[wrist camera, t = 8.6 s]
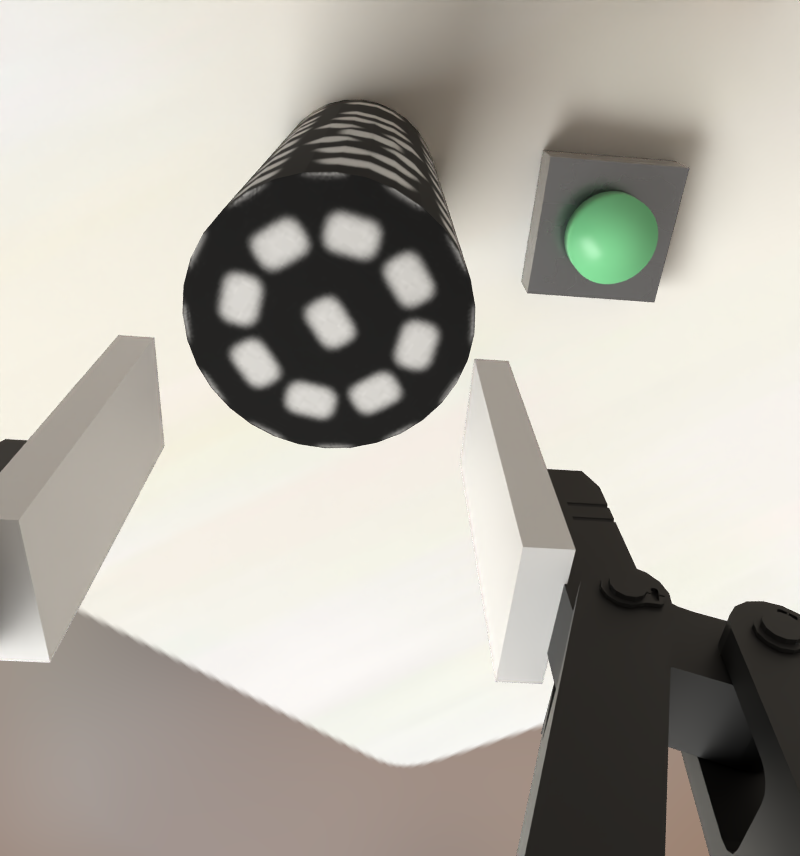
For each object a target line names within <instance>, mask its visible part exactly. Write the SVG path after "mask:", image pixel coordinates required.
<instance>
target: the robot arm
mask: <svg viewBox="0 0 800 856" xmlns="http://www.w3.org/2000/svg"><path fill="white" fill-rule="evenodd" d="M163 448H164V436H163V426H162V415H161V404H160V394H159V383H158V372H157V362H156V351H155V341H154V338H152V337H137V336H122V335H118V337H117V338H116V339H115V340H114V341H113V342H112V343H111V345H110V346H109V347H108V348H107V349H106V350H105V352H104V353H103V354H102V355H101V356H100V357H99V359H98V360H97V361H96V362H95V363H94V364H93V365H92V367H91V368H90V369H89V370H88V371H87V372H86V374H85V375H84V376H83V377H82V378H81V379H80V381H79V382H78V383H77V384H76V385H75V386H74V388H73V389H72V390H71V391H70V392H69V393H68V394H67V396H66V397H65V398H64V399H63V400H62V401H61V403H60V404H59V405H58V406H57V407H56V408H55V410H54V411H53V412H52V413H51V414H50V415H49V416H48V418H47V419H46V420H45V421H44V422H43V423H42V425H41V426H40V427H39V428H38V429H37V430H36V432H35V433H34V434H33V435H32V436H31V437H30V438H29V440H28V441H27V440H10V439H5V440H3V441H1V442H0V660H4V661H28V662H51V660H52V658H53V656H54V654H55V652H56V650H57V648H58V647H59V644H60V643H61V641H62V639H63V637H64V635H65V633H66V631H67V630H68V627H69V626H70V623H71V622H72V620H73V618H74V616H75V614H76V612H77V611H78V609H79V607H80V605H81V603H82V601H83V599H84V597H85V595H86V594H87V592H88V590H89V588H90V586H91V584H92V582H93V580H94V578H95V577H96V575H97V573H98V571H99V569H100V567H101V565H102V563H103V561H104V559H105V558H106V556H107V554H108V552H109V550H110V548H111V546H112V544H113V542H114V541H115V539H116V537H117V535H118V533H119V531H120V529H121V527H122V525H123V524H124V522H125V520H126V518H127V516H128V514H129V512H130V510H131V508H132V507H133V505H134V503H135V501H136V499H137V497H138V495H139V493H140V491H141V489H142V488H143V486H144V484H145V482H146V480H147V478H148V476H149V474H150V472H151V471H152V469H153V467H154V465H155V463H156V461H157V459H158V457H159V455H160V454H161V452H162V450H163ZM460 467H461V473H462V479H463V485H464V492H465V498H466V504H467V510H468V516H469V522H470V528H471V535H472V541H473V547H474V553H475V559H476V565H477V571H478V577H479V584H480V590H481V596H482V602H483V608H484V614H485V620H486V626H487V633H488V639H489V645H490V651H491V657H492V663H493V669H494V675H495V682H510V683H533V684H542V683H543V679H544V675H545V671H546V667H547V663H548V659H549V663H550V667H551V671H552V675H553V679H554V686H553V689H552V693H551V697H550V701H549V705H548V709H547V712H546V716H545V720H544V724H543V728H542V732H541V734H542V738H541V743H540V747H539V752H538V757H537V761H536V766H535V771H534V775H533V780H532V785H531V789H530V794H529V799H528V804H527V808H526V813H525V817H524V823H523V827H522V831H521V836H520V841H519V846H518V850H517V855H516V856H665V833H666V802H667V801H666V800H667V769H668V747H671V748H673V749H677V750H679V751H681V753H682V756H683V760H684V763H685V767H686V771H687V775H688V778H689V782H690V785H691V789H692V793H693V796H694V800H695V804H696V807H697V811H698V814H699V818H700V822H701V826H702V829H703V833H704V837H705V840H706V844H707V847H708V851H709V855H710V856H800V614H798V613H796V612H794V611H792V610H789V609H787V608H785V607H783V606H780V605H776V604H772V603H768V602H764V601H751V602H745V603H742V604H740V605H737V606H735V607H734V609H733V611H732V612H731V614H730V615H729V618H728V620H727V621H724V620H721V619H717V618H713V617H710V616H706V615H703V614H699V613H695V612H692V611H689V610H686V609H683V608H680V607H678V606H676V605H674V604H672V602H671V599H670V595H669V593H668V592H667V590H666V589H665V588H664V587H663V585H662V584H661V583H660V582H659V581H657V580H656V579H655V578H653V577H652V576H650V575H649V574H647V573H646V572H643V571H641V570H638V569H636V566H635V564H634V562H633V560H632V558H631V555H630V553H629V551H628V549H627V547H626V544H625V542H624V540H623V538H622V536H621V533H620V531H619V529H618V527H617V525H616V522H614V518H613V516H612V514H611V511H610V509H609V508H607V503H606V500H605V498H604V496H603V494H602V492H601V489H600V487H599V486H598V485H597V484H595V483H594V482H593V481H592V480H591V479H590V478H589V477H588V476H587V475H585V474H584V473H583V472H582V471H570V470H553V469H547V468H546V465H545V462H544V460H543V457H542V454H541V451H540V448H539V445H538V443H537V440H536V437H535V434H534V431H533V429H532V426H531V423H530V420H529V417H528V415H527V412H526V409H525V406H524V403H523V401H522V398H521V395H520V392H519V389H518V387H517V384H516V381H515V378H514V375H513V372H512V370H511V367H510V364H509V361H499V360H484V359H474V366H473V373H472V380H471V388H470V395H469V402H468V409H467V416H466V423H465V431H464V438H463V445H462V452H461V459H460Z"/></svg>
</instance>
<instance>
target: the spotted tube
mask: <svg viewBox="0 0 800 856" xmlns="http://www.w3.org/2000/svg"><path fill="white" fill-rule="evenodd" d="M183 318H184V324H185V329H186V335H187V340H188V343H189V345H190V348H191V351H192V353H193V356H194V358H195V361H196V364H197V366H198V367H199V369H200V370H201V372H202V374H203V375H204V377H205V378H206V380H207V382H208V383H209V385H210V386H211V388H212V389H213V390H214V391H215V392H216V393H217V394H218V396H219V397H220V398H221V399H222V400H223V401H224V402H225V403H226V404H227V405H228V406H229V408H231V409H232V410H233V411H235V412H236V413H237V414H239V415H240V416H241V417H243V418H244V419H245V420H246V421H248V422H249V423H250V424H252V425H254V426H256V427H258V428H260V429H262V430H264V431H266V432H267V433H269V434H271V435H273V436H276V437H279V438H282V439H285V440H288V441H291V442H294V443H297V444H301V445H308V446H315V447H321V448H352V447H357V446H362V445H367V444H372V443H377V442H380V441H382V440H385V439H387V438H390V437H393V436H395V435H398V434H401V433H402V432H404V431H406V430H407V429H409V428H410V427H412V426H414V425H415V424H417V423H419V422H420V421H422V420H423V419H424V418H425V417H427V416H428V415H429V414H430V413H431V412H432V411H433V410H434V409H435V408H437V407H438V406H439V405H440V404H441V403H442V402H443V400H444V399H445V398H446V396H447V395H448V394H449V392H450V391H451V390H452V388H453V387H454V386H455V384H456V383H457V381H458V379H459V377H460V375H461V373H462V371H463V369H464V367H465V365H466V362H467V360H468V357H469V353H470V349H471V345H472V341H473V337H474V328H475V302H474V297H473V291H472V285H471V279H470V276H469V273H468V270H467V267H466V264H465V261H464V257H463V254H462V251H461V248H460V245H459V242H458V239H457V236H456V232H455V229H454V226H453V223H452V220H451V217H450V214H449V211H448V208H447V204H446V201H445V198H444V195H443V192H442V189H441V186H440V183H439V179H438V176H437V173H436V170H435V167H434V164H433V161H432V158H431V156H430V153H429V150H428V148H427V145H426V144H425V142H424V140H423V139H422V137H421V136H420V134H419V133H418V131H417V130H416V129H415V128H414V127H413V126H412V125H411V124H410V123H409V122H408V121H407V120H406V119H405V118H404V117H402V116H401V115H399V114H398V113H397V112H395V111H394V110H392V109H390V108H388V107H385V106H383V105H381V104H378V103H374V102H369V101H364V100H344V101H340V102H335V103H331V104H328V105H326V106H324V107H322V108H320V109H318V110H316V111H314V112H313V113H311V114H310V115H309V116H308V117H306V118H305V119H304V120H302V121H301V122H300V123H299V125H298V126H297V127H296V128H295V129H294V130H293V131H292V132H291V134H290V135H289V136H288V137H287V138H286V139H285V140H284V142H283V143H282V144H281V145H280V146H279V147H278V148H277V149H276V151H275V152H274V153H273V154H272V155H271V156H270V157H269V158H268V160H267V161H266V162H265V163H264V164H263V165H262V166H261V167H260V169H259V170H258V171H257V172H256V173H255V174H254V175H253V176H252V178H251V179H250V180H249V181H248V182H247V183H246V184H245V185H244V187H243V188H242V189H241V190H240V191H239V192H238V193H237V194H236V196H235V197H234V198H233V199H232V200H231V201H230V202H229V203H228V205H227V206H226V207H225V208H224V209H223V210H222V211H221V213H220V214H219V215H218V216H217V217H216V219H215V220H214V221H213V222H212V223H211V225H210V226H209V227H208V228H207V229H206V231H205V232H204V233H203V235H202V237H201V239H200V241H199V243H198V245H197V247H196V249H195V251H194V253H193V255H192V257H191V259H190V263H189V267H188V270H187V274H186V278H185V282H184V290H183Z"/></svg>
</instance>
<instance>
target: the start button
mask: <svg viewBox="0 0 800 856" xmlns="http://www.w3.org/2000/svg"><path fill="white" fill-rule="evenodd" d="M657 241H658V226H657V222H656V219H655V217H654V215H653V213H652V212H651V210H650V209H649V208H648V207H647V206H646V205H645V204H644V203H642V202H641V201H639V200H638V199H637V198H635V197H634V196H632V195H630V194H628V193H624V192H619V191H608V192H603V193H599V194H596V195H594V196H592V197H590V198H588V199H587V200H586V201H584V202H583V203H582V204H581V205H580V206H579V207H578V208H577V209H576V210H575V211H574V213H573V214H572V216H571V217H570V219H569V221H568V224H567V226H566V230H565V236H564V244H565V250H566V253H567V256H568V258H569V260H570V261H571V263H572V264H573V265H574V267H575V268H576V269H577V270H578V272H579V273H580V274H581V275H582V276H584V277H585V278H587V279H588V280H590V281H593V282H596V283H600V284H615V283H619V282H623V281H625V280H628V279H630V278H632V277H633V276H635V275H636V274H637V273H639V272H640V271H641V270H642V269H643V268H644V267H645V266H646V265H647V263H648V262H649V261H650V259H651V258H652V256H653V254H654V251H655V249H656V246H657Z"/></svg>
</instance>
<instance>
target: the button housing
mask: <svg viewBox="0 0 800 856" xmlns="http://www.w3.org/2000/svg"><path fill="white" fill-rule="evenodd" d="M688 171H689V167H686V166H684V165H682V164H680V163H678V162H676V161H667V160H655V159H642V158H630V157H618V156H606V155H593V154H581V153H569V152H557V151H545V150H543V153H542V159H541V165H540V172H539V178H538V184H537V190H536V196H535V202H534V208H533V214H532V220H531V226H530V232H529V238H528V244H527V250H526V256H525V262H524V269H523V275H522V281H521V282H522V284H523V286H524V288H525V290H526V292H527V293H532V294H546V295H560V296H574V297H588V298H602V299H616V300H630V301H644V302H654V301H655V298H656V294H657V290H658V286H659V282H660V278H661V275H662V271H663V267H664V263H665V259H666V255H667V252H668V248H669V244H670V240H671V236H672V232H673V229H674V225H675V221H676V217H677V213H678V210H679V206H680V202H681V198H682V194H683V190H684V187H685V183H686V179H687V175H688ZM608 191H619V192H624V193H628V194H630V195H632V196H634V197H635V198H637V199H638V200H639V201H641V202H642V203H644V204H645V205H646V206H647V207H648V208H649V209H650V210H651V212H652V213H653V215H654V217H655V219H656V222H657V226H658V241H657V246H656V249H655V251H654V254H653V256H652V258H651V259H650V261H649V262H648V263H647V265H646V266H645V267H644V268H643V269H642V270H641V271H640V272H639V273H637V274H636V275H635V276H633V277H632V278H630V279H628V280H625V281H623V282H619V283H615V284H600V283H596V282H593V281H590V280H588V279H587V278H585V277H584V276H582V275H581V274H580V273H579V272H578V270H577V269H576V268H575V267H574V265H573V264H572V263H571V261H570V260H569V258H568V256H567V253H566V250H565V244H564V236H565V230H566V226H567V224H568V221H569V219H570V217H571V216H572V214H573V213H574V211H575V210H576V209H577V208H578V207H579V206H580V205H581V204H582V203H583V202H584V201H586V200H587V199H588V198H590V197H592V196H594V195H596V194H599V193H603V192H608Z"/></svg>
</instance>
